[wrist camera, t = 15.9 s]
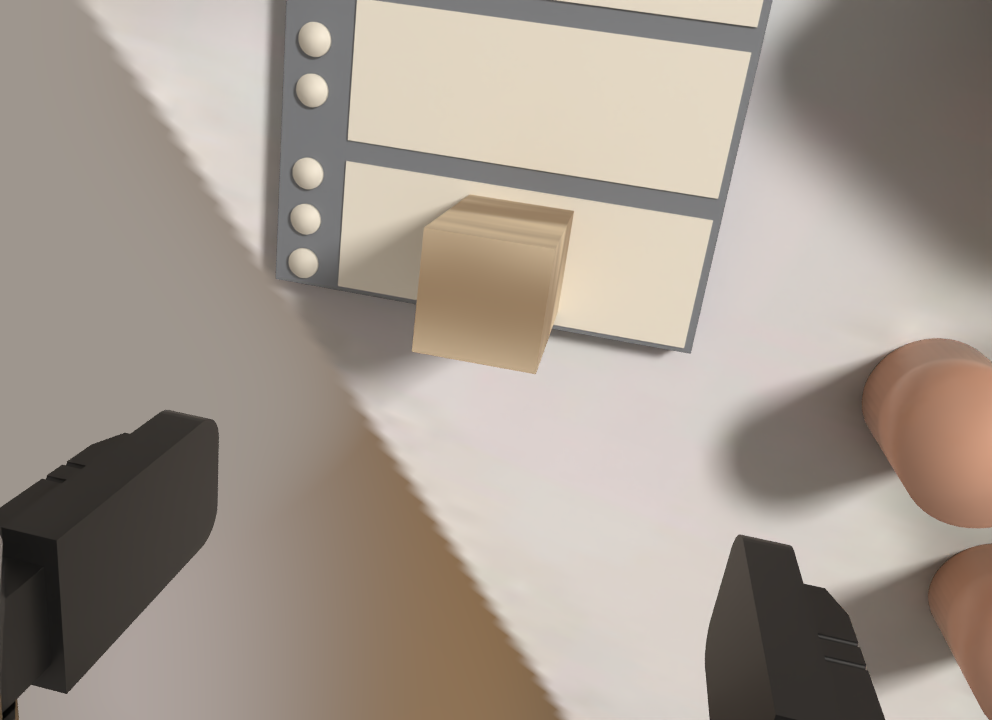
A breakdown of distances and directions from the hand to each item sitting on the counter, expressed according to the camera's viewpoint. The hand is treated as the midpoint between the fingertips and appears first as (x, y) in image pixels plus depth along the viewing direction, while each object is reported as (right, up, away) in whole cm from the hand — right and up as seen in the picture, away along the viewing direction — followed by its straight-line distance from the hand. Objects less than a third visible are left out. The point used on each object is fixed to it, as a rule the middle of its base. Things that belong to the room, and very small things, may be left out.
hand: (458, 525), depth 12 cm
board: (+1, +13, +19) cm, 22 cm away
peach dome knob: (+18, +1, +20) cm, 26 cm away
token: (+1, +7, +19) cm, 20 cm away
